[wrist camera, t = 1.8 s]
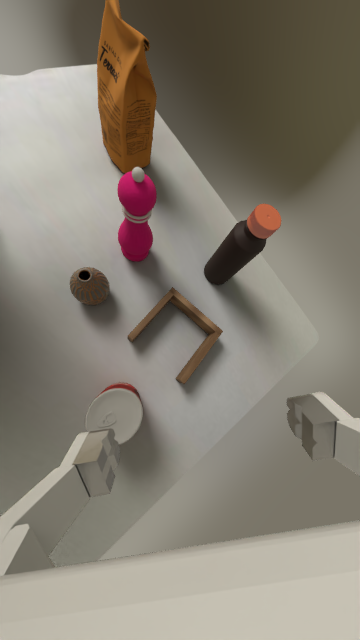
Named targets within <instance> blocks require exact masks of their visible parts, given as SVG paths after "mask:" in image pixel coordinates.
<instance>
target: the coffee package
mask: <svg viewBox="0 0 360 640" xmlns="http://www.w3.org/2000/svg"><path fill="white" fill-rule="evenodd" d="M149 48H150V47H149V41H148V40H147V38H145V37H144V36H143V35H142V34H141V33H139V32H138V31H136V30H135V29H133V28H132V27H131V26H129V25H128V24H127V23H125V22H124V21H123V20H122V17H121V13H120V7H119V1H118V0H106V2H105V9H104V14H103V20H102V29H101V36H100V41H99V51H98V60H97V77H98V108H99V113H100V119H101V126H102V135H103V143H104V145H105V147H106V148H107V151H108V154H109V156H110V157H111V159H112V161H113V162H114V163H115V164H116V165H117V166H118V167H119V169H120V170H121V171H122V172H123V173H127V172H131V171H132V170H133V169H134V168H135V167H140V168H143V167H146V166H147V165H148V164H150V155H151V147H152V140H153V128H154V116H155V107H156V97H157V96H156V92H155V88H154V84H153V81H152V77H151V74H150V71H149V69H148V65H147V61H146V57H145V51H149Z"/></svg>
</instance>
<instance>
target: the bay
mask: <svg viewBox="0 0 360 640" xmlns="http://www.w3.org/2000/svg"><path fill="white" fill-rule="evenodd" d="M169 301H171V302H172V303H173V304H174V305H175V306H177V307H178V308H179V309H180V310H181V311H182V312H183V313H185V314H186V315H187V316H188V317H189V318H190V319H192V320H193V321H194V322H195V323H196V324H197V325H198V326H200V327H201V328H202V329H203V330H204V331H205V332H207V333H208V334H209V335H208V336H207V337H206V339H205V340H204V341H203V343H202V344H201V345H200V347H199V348H198V349H197V351H196V352H195V353H194V355H193V356H192V357H191V359H190V360H189V361H188V363H187V364H186V365H185V367H184V368H183V369H182V371H181V372H180V373H179V375H178V376H177V377H176V380H178V381H179V382H180V383H183V384H185V383H186V382H187V380H188V379H189V377H190V376H191V375H192V373H193V372H194V371H195V369H196V368H197V366H198V365H199V364H200V362H201V361H202V359H203V358H204V357H205V355H206V354H207V353H208V351H209V350H210V348H211V347H212V346H213V344H214V343H215V342H216V340H217V339H218V337H219V336H220V335H221V333H222V332H223V331H222V330H221V329H220V328H219V327H218V326H216V325H215V324H214V323H213V322H212V321H211V320H210V319H208V318H207V317H206V316H205V315H204V314H203V313H202V312H200V311H199V310H198V309H197V308H196V307H195V306H194V305H192V304H191V303H190V302H189V301H188V300H187V299H186V298H184V297H183V296H182V295H181V294H180V293H179V292H177V291H176V290H175V289H174V288H173V287H172V289H171V290H170V291H169V292H168V293H167V294H166V295H165V296H164V297H163V298H162V299H161V300H160V301H159V303H158V304H157V305H156V306H155V307H154V308H153V309H152V310H151V311H150V312H149V313H148V314H147V316H146V317H145V318H144V319H143V320H142V321H141V322H140V323H139V324H138V325H137V326H136V327H135V328H134V330H133V331H132V332H131V333H130V334H129V335H128V339H129V340H130V341H132V342H133V341H134V340H135V339H136V338H137V337H138V335H139V334H140V333H141V332H142V331H143V330H144V329H145V328H146V327H147V325H148V324H149V323H150V322H151V321H152V320H153V319H154V318H155V317H156V315H157V314H158V313H159V312H160V311H161V310H162V309H163V308H164V307H165V305H166V304H167V303H168V302H169Z"/></svg>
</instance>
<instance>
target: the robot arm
mask: <svg viewBox="0 0 360 640" xmlns="http://www.w3.org/2000/svg"><path fill="white" fill-rule="evenodd" d="M287 406H288V407H289V409H290V410H289V411H288V413H287V420H288V423H289V426H290V428H291V430H292V432H293V433H294V435H295V436H296V437H298V438H300V439H301V440H302V446H303V448H304V449H305V450H306V452H307V453H308V455H309V456H310V457H311V459H312V460H321V459H328V458H335V460H337V461H338V462H340V463H341V464H343V465H344V466H346V467H347V468H348V469H350V470H351V471H353V472H354V473H356V474H357V475H359V476H360V419H359V418H353V417H352V416H350V415H349V414H348V413H347V412H346V411H344V409H342V408H341V407H340V406H339V405H338V404H337V403H335V402H334V401H333V400H332V399H331V398H329V397H328V396H327V395H326V394H325V393H323V392H317V393H312V394H307V395H302V396H296V397H290V398H288V399H287ZM114 437H115V432H114V430H113V429H112V428H109V429H102V430H95V431H90V432H83V433H80V434H78V435H77V437H76V438H75V440H74V442H73V444H72V445H71V447H70V449H69V451H68V452H67V454H66V456H65V458H64V459H63V461H62V463H61V465H60V466H59V468H55V469H54V470H53V471H52V472H51V473H49V474H48V475H47V476H46V477H45V478H44V479H43V480H42V481H40V482H39V483H38V484H37V485H36V486H35V487H34V488H33V489H31V490H30V491H29V492H28V493H27V494H26V495H25V496H23V497H22V498H21V499H20V500H19V501H18V502H17V503H16V504H14V505H13V506H12V507H11V508H10V509H9V510H8V511H6V512H5V513H4V514H3V515H2V516H1V517H0V640H360V520H359V521H352V522H346V523H340V524H334V525H327V526H320V527H314V528H307V529H301V530H294V531H288V532H282V533H275V534H268V535H262V536H256V537H249V538H243V539H236V540H229V541H223V542H216V543H210V544H204V545H197V546H191V547H185V548H178V549H172V550H165V551H159V552H152V553H146V554H139V555H133V556H126V557H120V558H114V559H107V560H100V561H94V562H87V563H81V564H74V565H68V566H61V567H55V566H54V564H53V563H52V561H51V560H50V558H49V554H50V553H51V552H52V550H53V549H54V548H55V546H56V545H57V543H58V542H59V541H60V539H61V538H62V537H63V535H64V534H65V532H66V531H67V530H68V528H69V527H70V526H71V524H72V523H73V521H74V520H75V519H76V517H77V516H78V515H79V513H80V512H81V511H82V509H83V508H84V506H85V505H86V504H87V502H88V501H89V500H90V497H95V496H100V495H105V494H110V492H111V489H112V485H113V482H114V478H115V475H114V472H113V471H114V470H115V469H116V467H117V466H118V463H119V460H120V447H119V443H118V442H117V441H116V440H115V439H114Z"/></svg>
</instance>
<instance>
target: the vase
mask: <svg viewBox="0 0 360 640" xmlns="http://www.w3.org/2000/svg"><path fill="white" fill-rule="evenodd" d="M70 289H71V292H72V294H73V295H74V297H75V298H76V299H77V300H78V301H80V302H81V303H84V304H87V305H97V304H100V303H101V302H103V301H104V300H105V299H106V298H107V296H108V294H109V282H108V280H107V278H106V277H105V275H104V274H103V273H102V272H100V271H99V270H97V269H95V268H90V267H85V268H81V269H79V270H77V271H76V272H74V274H73V275H72V277H71V279H70Z"/></svg>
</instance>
